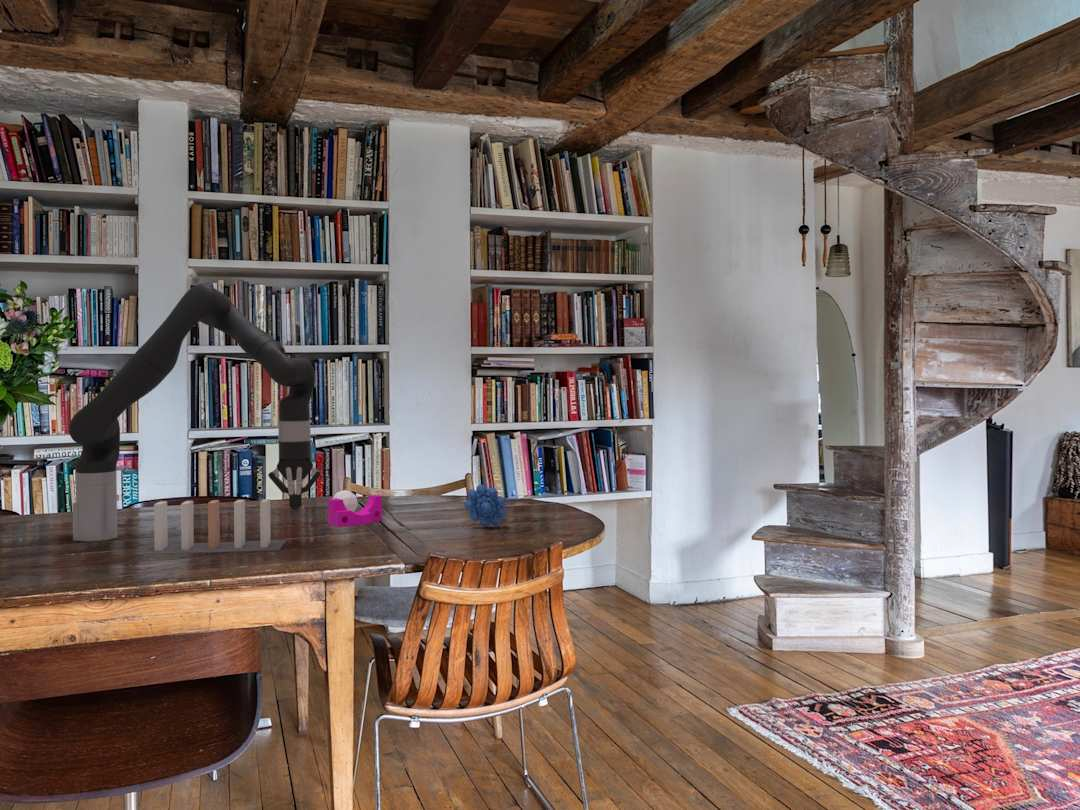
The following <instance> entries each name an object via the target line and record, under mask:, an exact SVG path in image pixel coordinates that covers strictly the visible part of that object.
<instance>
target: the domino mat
mask: <svg viewBox="0 0 1080 810" xmlns="http://www.w3.org/2000/svg"><path fill="white" fill-rule="evenodd" d="M286 542H287V540H286V539H283V540H271V543H270V545H269V546H268V547H260V540H254V541H253V540H252V541H248V540H245V545H244V546H243V547H242V548H234V541H220V545H219V546H218V547H217V548H216V549H208V542H194V546H193V547H191V548H190V549H189V550H181V543H168V547H166V548H165V549H163V550H162V551H155V546H154V543H153V544H149V545H148V546H146V547H145V548H143V549H141V550H140V551H138V552H136V553H135V556H144V555H178V554H179V555H182V554H183V555H185V554H186V555H187V554H217V553H218V554H219V553H225V554H226V553H253V552H252V551H265V552H280V551H279V550H281V549H282V548H283V546H284V545H285V544H286ZM283 544H284V545H283ZM281 547H282V548H281Z"/></svg>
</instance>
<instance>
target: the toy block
mask: <svg viewBox="0 0 1080 810" xmlns="http://www.w3.org/2000/svg"><path fill="white" fill-rule="evenodd" d="M327 506H328V507H327V513H328V514H327V515H328V518H327V519H328V520H327V521H328V523H327V524H328V525H330V524H331V525H330V526H333V525H334V527H336V526H337V527H336V528H343V527H342V526H344V527H351V526H352V525H353V526H361V525H368V524H372V523H373V522H381V521H383V496H382V495H379V494H370V495H369V497H368V500H367V502H366V504H365V506H364V507H362V509H360V510H358V511H354V512H352V511H350V510H347V509H346V507H345V505H344V503H343V500H342V499H338V498H335V499H332V498H329V499H328V501H327Z"/></svg>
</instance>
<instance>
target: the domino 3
mask: <svg viewBox="0 0 1080 810" xmlns="http://www.w3.org/2000/svg"><path fill="white" fill-rule="evenodd" d="M220 512H221V511H220V500H219V499H216V500H213V499H212V500H211V501H209V502H207V535H208V536H207V543H208V549H216V548H217V547H218V546H219V545H220V542H221V535H220V533H221V531H220V530H221V527H220V520H221V519H220V518H221V517H220V514H221V513H220Z"/></svg>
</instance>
